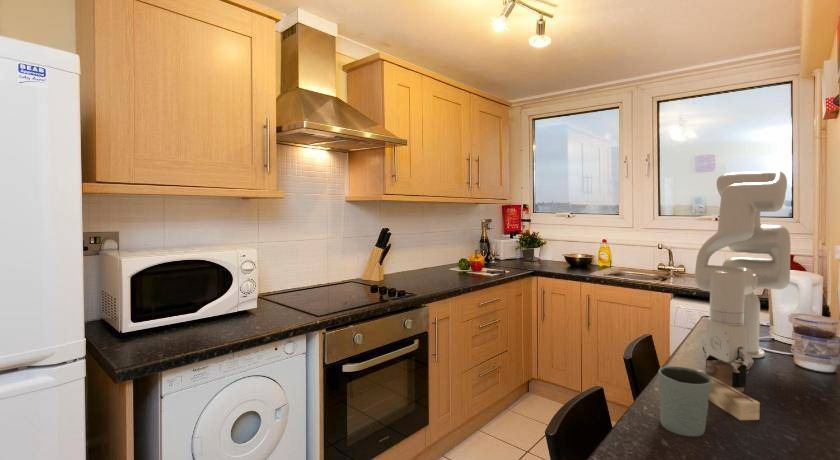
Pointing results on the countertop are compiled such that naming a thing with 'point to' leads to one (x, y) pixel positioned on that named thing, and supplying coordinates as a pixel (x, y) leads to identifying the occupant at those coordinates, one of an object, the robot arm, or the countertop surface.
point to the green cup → (683, 400)
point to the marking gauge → (721, 372)
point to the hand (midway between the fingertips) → (724, 379)
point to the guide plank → (733, 400)
